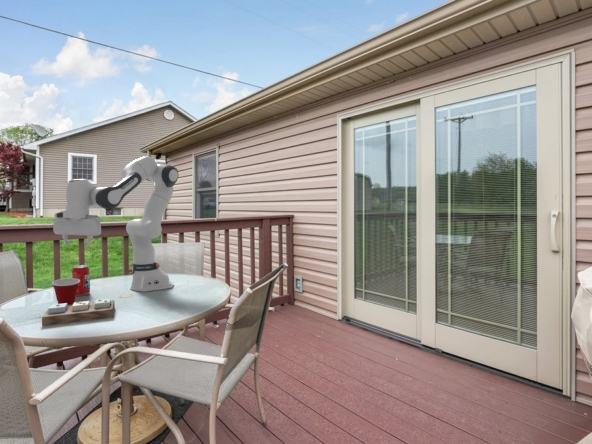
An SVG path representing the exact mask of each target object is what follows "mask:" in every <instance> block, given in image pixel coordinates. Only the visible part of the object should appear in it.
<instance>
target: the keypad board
mask: <svg viewBox="0 0 592 444" xmlns="http://www.w3.org/2000/svg"><path fill="white" fill-rule="evenodd" d="M95 302H96V301H94V302H89V303H90V307H89V309H86V310H77V311H72V305H67V310H66V312H59V313H50V314H48V309H47V310H46V311H45V313H44V314H43V315H42V316H41V326H42V327H46V326H54V324H55V325H61V324H62V325H63V324H71V323H77V322H79V323H80V322H85V321H86V322H87V321H94V320H102V319H109V318H111V319H112V318H113V317H114V312H115V308H116V307H115V300H114V299H113V300H112V299H111V306H110V307H104V308H95ZM45 325H46V326H45Z"/></svg>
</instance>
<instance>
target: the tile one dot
mask: <svg viewBox="0 0 592 444" xmlns="http://www.w3.org/2000/svg"><path fill="white" fill-rule="evenodd" d="M47 310H48V314H50V313H59V312H66V310H67V303H63V304H58V303H55V304H51V305H50V306H49V307H48V308H47Z"/></svg>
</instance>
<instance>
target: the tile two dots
mask: <svg viewBox="0 0 592 444" xmlns="http://www.w3.org/2000/svg"><path fill="white" fill-rule="evenodd" d="M111 301H112V299H111V298H106V299H95V301H94V302H95V308H104V307H110V306H111Z"/></svg>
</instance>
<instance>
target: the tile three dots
mask: <svg viewBox="0 0 592 444" xmlns="http://www.w3.org/2000/svg"><path fill="white" fill-rule="evenodd" d="M90 303H91V302H90V300H84V301H75V302H74V304H73V305H72V311H77V310H86V309H89V307H90Z"/></svg>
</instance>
